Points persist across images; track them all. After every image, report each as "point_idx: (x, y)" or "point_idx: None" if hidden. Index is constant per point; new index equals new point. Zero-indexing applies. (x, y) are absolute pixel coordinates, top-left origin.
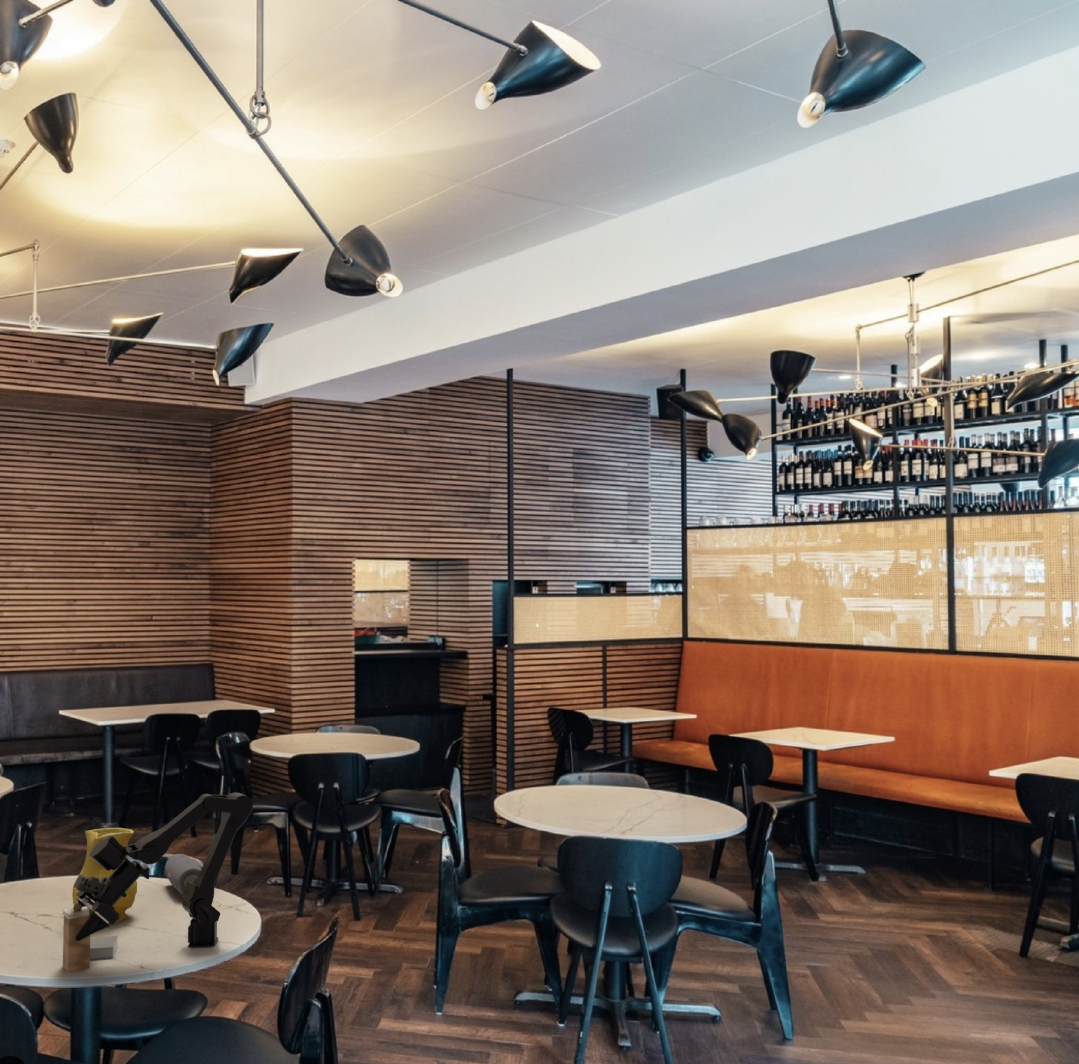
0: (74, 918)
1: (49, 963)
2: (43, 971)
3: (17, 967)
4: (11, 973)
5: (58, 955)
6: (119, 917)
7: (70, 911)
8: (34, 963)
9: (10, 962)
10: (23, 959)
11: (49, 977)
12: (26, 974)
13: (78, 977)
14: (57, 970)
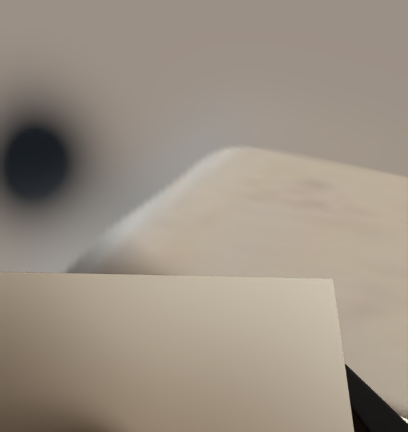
0: None
1: None
2: (202, 237)
3: (305, 178)
4: (247, 150)
5: (390, 341)
6: None
7: (126, 374)
8: (323, 234)
9: (376, 174)
10: (394, 215)
11: (114, 236)
12: (205, 183)
13: None
14: None
